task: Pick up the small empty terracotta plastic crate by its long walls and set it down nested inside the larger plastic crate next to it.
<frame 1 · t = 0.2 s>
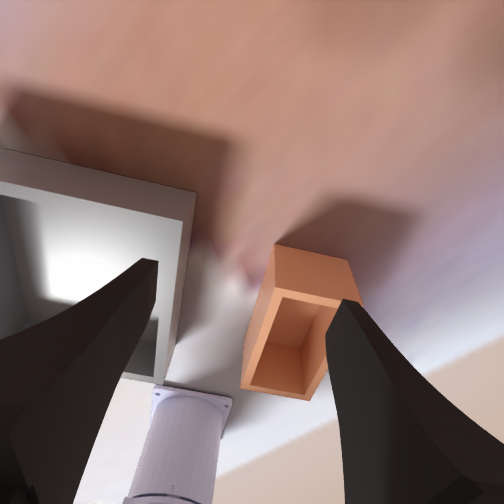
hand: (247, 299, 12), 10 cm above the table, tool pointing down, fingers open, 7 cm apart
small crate: (290, 301, 25), on the table
big crate: (99, 264, 24), on the table
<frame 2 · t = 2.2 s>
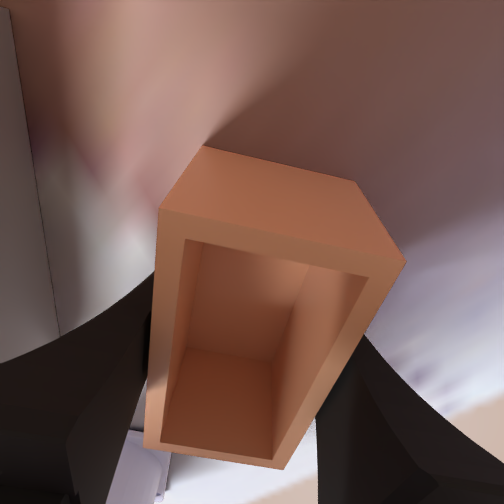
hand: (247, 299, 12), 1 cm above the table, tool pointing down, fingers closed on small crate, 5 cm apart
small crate: (249, 276, 14), on the table, touching gripper
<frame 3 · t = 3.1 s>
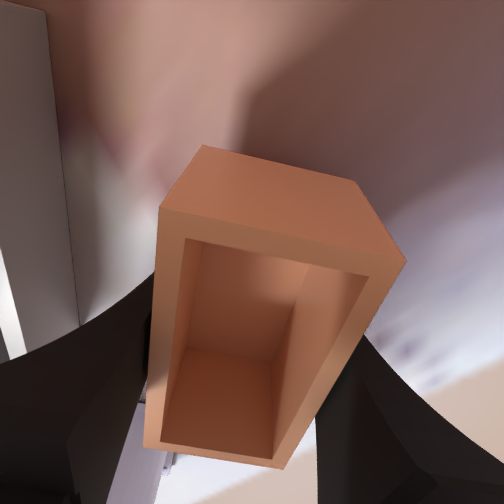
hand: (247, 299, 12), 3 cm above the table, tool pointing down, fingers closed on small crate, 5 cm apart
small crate: (249, 276, 14), point 2 cm above the table, touching gripper
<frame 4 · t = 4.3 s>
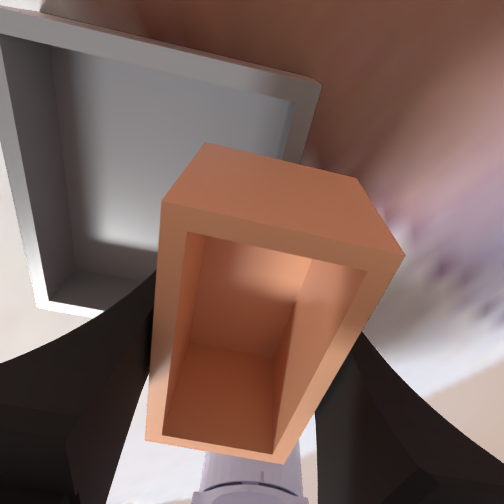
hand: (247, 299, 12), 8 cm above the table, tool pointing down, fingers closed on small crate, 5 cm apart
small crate: (251, 273, 14), point 7 cm above the table, touching gripper
big crate: (169, 191, 19), on the table
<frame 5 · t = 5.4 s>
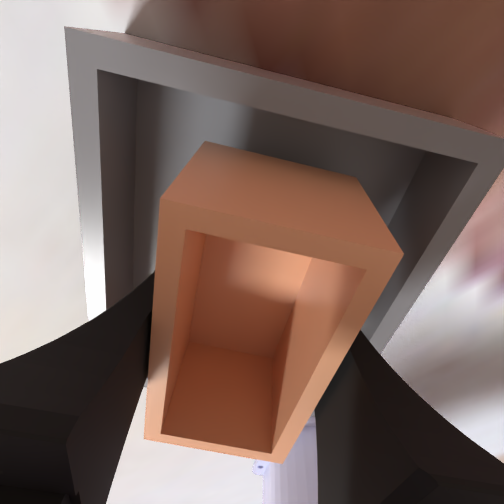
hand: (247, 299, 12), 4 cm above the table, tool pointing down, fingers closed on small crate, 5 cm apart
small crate: (250, 272, 14), point 3 cm above the table, touching gripper
big crate: (252, 241, 16), on the table
when the fingers open (4 cm above the table, at t = 6.1 s): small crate drops 1 cm, resting on big crate.
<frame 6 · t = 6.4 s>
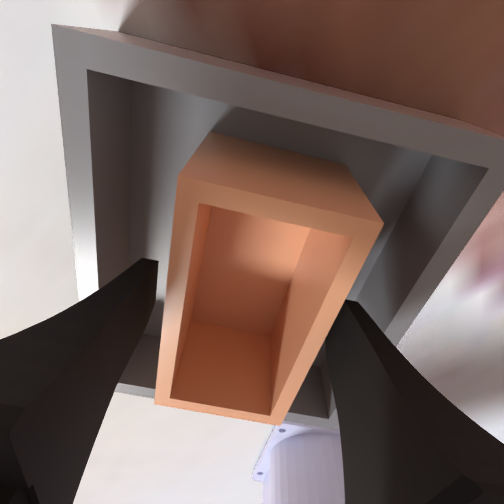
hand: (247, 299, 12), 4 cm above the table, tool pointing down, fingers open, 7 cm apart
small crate: (250, 253, 15), point 1 cm above the table, touching big crate
big crate: (252, 247, 16), on the table
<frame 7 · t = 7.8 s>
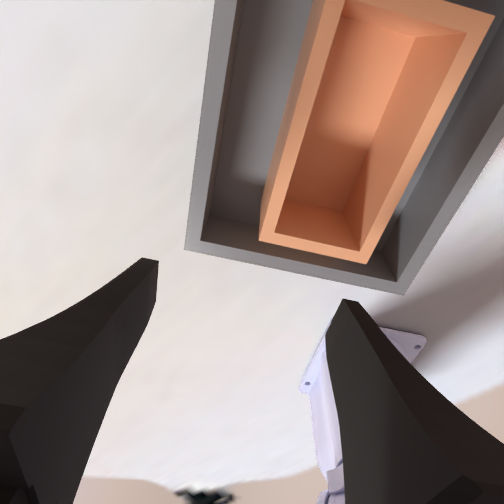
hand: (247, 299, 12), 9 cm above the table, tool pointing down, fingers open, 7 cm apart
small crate: (333, 124, 17), point 1 cm above the table, touching big crate
big crate: (331, 123, 18), on the table
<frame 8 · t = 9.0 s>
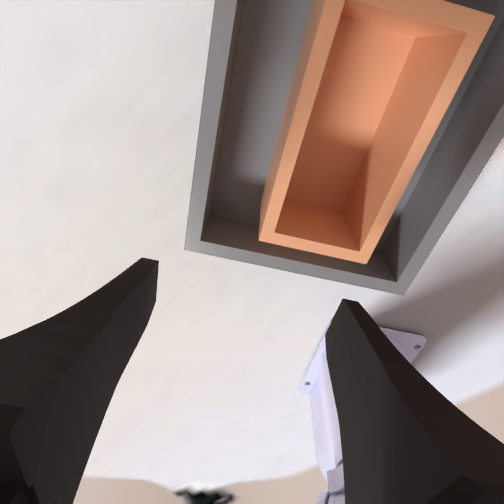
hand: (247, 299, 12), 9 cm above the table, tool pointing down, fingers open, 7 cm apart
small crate: (333, 124, 17), point 1 cm above the table, touching big crate
big crate: (331, 123, 18), on the table
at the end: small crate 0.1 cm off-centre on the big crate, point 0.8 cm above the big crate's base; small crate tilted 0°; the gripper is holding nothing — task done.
